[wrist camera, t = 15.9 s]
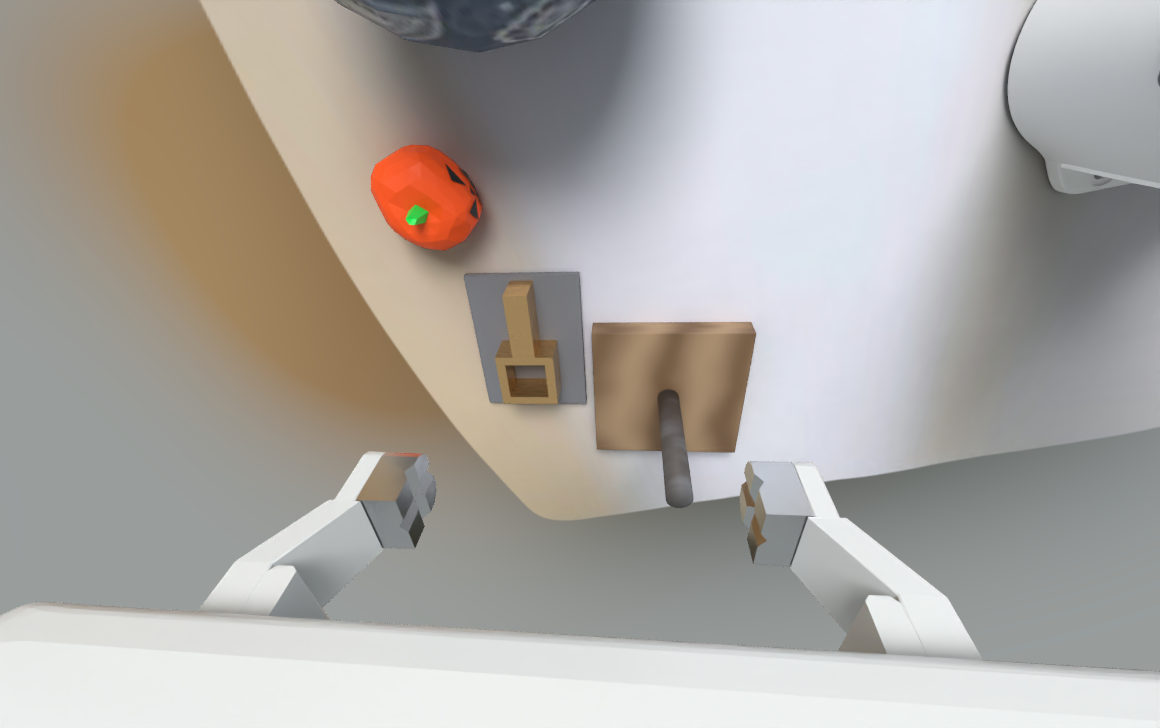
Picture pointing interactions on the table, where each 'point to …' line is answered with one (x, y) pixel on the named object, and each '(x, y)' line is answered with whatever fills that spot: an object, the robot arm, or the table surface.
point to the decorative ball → (467, 20)
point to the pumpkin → (426, 197)
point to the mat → (555, 322)
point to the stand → (671, 391)
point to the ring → (526, 350)
